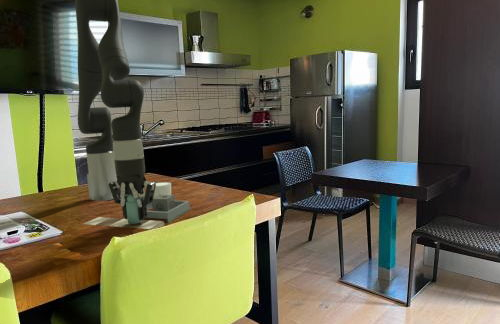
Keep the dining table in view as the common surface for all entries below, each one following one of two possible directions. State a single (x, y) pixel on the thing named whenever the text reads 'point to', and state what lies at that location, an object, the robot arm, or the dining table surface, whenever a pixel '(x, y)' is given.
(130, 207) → the pawn
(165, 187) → the shot glass
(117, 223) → the track
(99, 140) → the robot arm
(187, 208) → the tray
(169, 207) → the dice cube
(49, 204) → the dining table surface
